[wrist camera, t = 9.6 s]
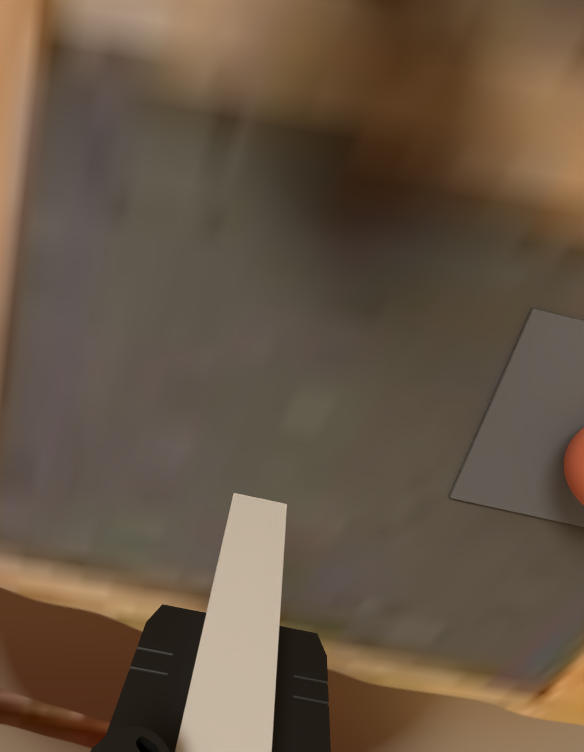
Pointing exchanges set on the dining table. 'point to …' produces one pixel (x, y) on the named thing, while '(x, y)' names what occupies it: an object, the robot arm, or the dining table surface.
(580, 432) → the ball
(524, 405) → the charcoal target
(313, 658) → the robot arm
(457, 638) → the dining table surface
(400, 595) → the dining table surface
